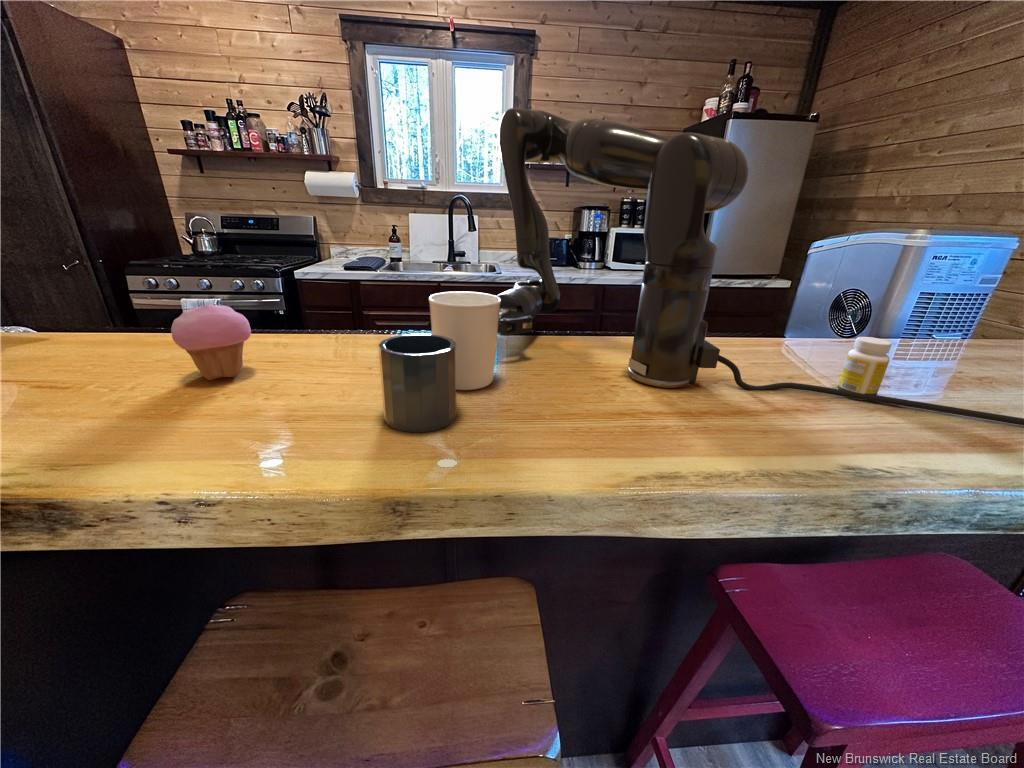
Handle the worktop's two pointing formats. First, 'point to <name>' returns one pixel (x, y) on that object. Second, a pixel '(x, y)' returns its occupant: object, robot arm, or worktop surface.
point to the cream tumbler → (468, 333)
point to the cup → (418, 381)
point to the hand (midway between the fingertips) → (476, 332)
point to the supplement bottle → (865, 366)
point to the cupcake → (213, 339)
